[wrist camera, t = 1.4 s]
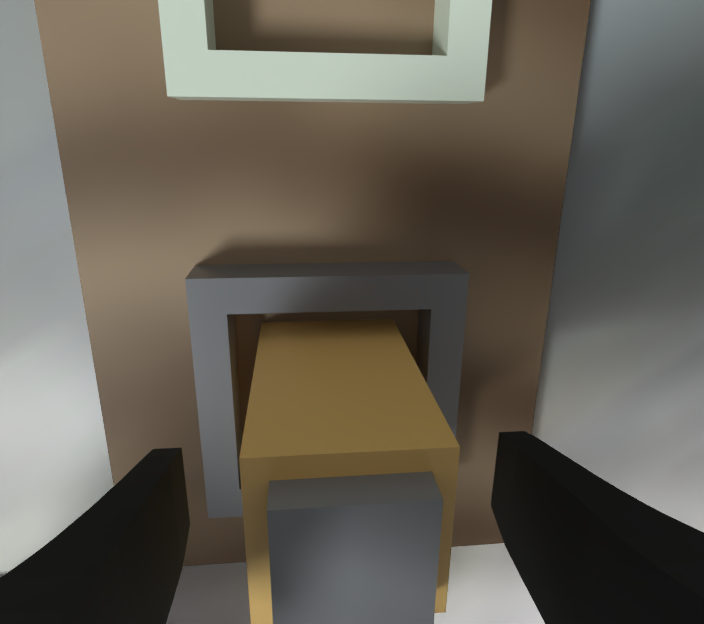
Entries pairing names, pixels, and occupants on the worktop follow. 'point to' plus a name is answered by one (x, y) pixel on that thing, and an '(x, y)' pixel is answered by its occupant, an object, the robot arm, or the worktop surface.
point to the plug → (345, 478)
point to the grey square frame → (310, 296)
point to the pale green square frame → (326, 63)
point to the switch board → (309, 208)
